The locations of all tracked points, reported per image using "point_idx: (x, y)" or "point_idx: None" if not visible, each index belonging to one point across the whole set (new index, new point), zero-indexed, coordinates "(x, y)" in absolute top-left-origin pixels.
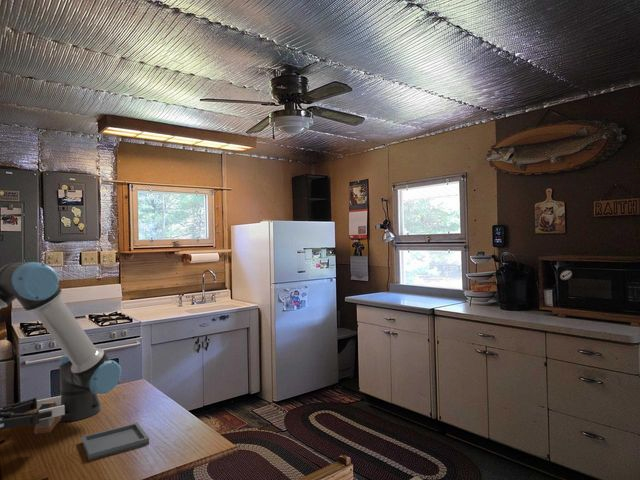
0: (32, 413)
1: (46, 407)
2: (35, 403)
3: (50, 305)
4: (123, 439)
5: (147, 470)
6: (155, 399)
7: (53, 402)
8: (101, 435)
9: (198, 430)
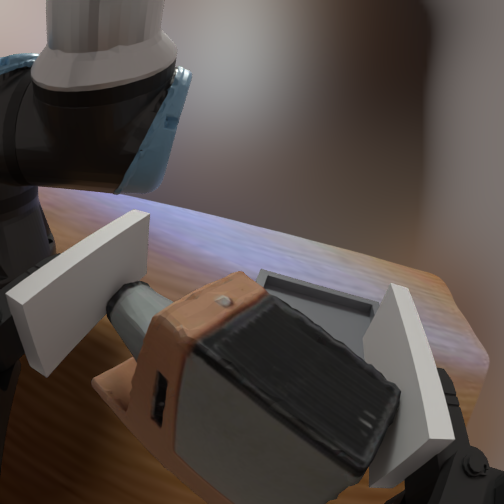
0: (474, 500)
1: (331, 362)
2: (6, 327)
3: None
4: (322, 326)
5: (477, 360)
6: (136, 205)
7: (254, 282)
8: None
9: (360, 260)
